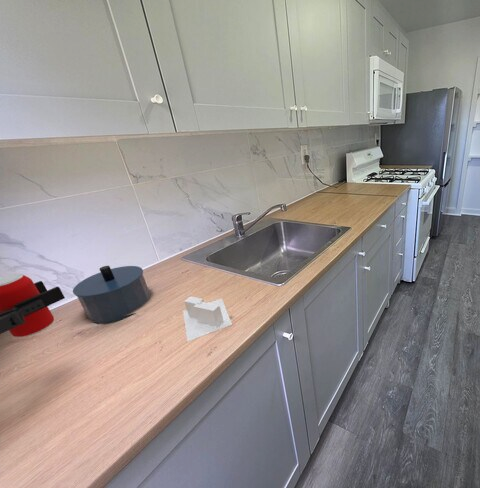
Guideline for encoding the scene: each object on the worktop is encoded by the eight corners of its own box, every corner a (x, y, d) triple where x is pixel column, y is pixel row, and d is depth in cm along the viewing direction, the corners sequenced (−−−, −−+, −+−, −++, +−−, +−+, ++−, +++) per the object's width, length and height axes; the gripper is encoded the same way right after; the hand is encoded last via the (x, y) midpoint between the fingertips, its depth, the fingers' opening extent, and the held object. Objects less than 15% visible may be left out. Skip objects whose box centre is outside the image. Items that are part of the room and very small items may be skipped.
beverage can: (57, 315, 58) (29, 268, 53) (55, 330, 54) (24, 279, 49) (17, 329, 55) (-16, 279, 50) (11, 345, 50) (-26, 292, 45)
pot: (79, 330, 73) (63, 301, 70) (102, 299, 87) (91, 274, 83) (143, 315, 78) (132, 288, 74) (156, 288, 91) (147, 264, 88)
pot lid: (61, 305, 69) (52, 288, 67) (90, 275, 84) (83, 261, 82) (134, 290, 74) (127, 274, 72) (150, 264, 88) (145, 251, 86)
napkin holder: (232, 324, 72) (228, 307, 70) (187, 341, 67) (181, 323, 64) (221, 297, 84) (217, 282, 81) (182, 311, 79) (176, 295, 76)
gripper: (-151, 376, 42) (38, 295, 61) (-118, 421, 34) (85, 313, 54) (-191, 340, 39) (21, 267, 58) (-164, 380, 31) (69, 281, 51)
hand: (52, 289), depth 56 cm, fingers closed on beverage can, 6 cm apart
